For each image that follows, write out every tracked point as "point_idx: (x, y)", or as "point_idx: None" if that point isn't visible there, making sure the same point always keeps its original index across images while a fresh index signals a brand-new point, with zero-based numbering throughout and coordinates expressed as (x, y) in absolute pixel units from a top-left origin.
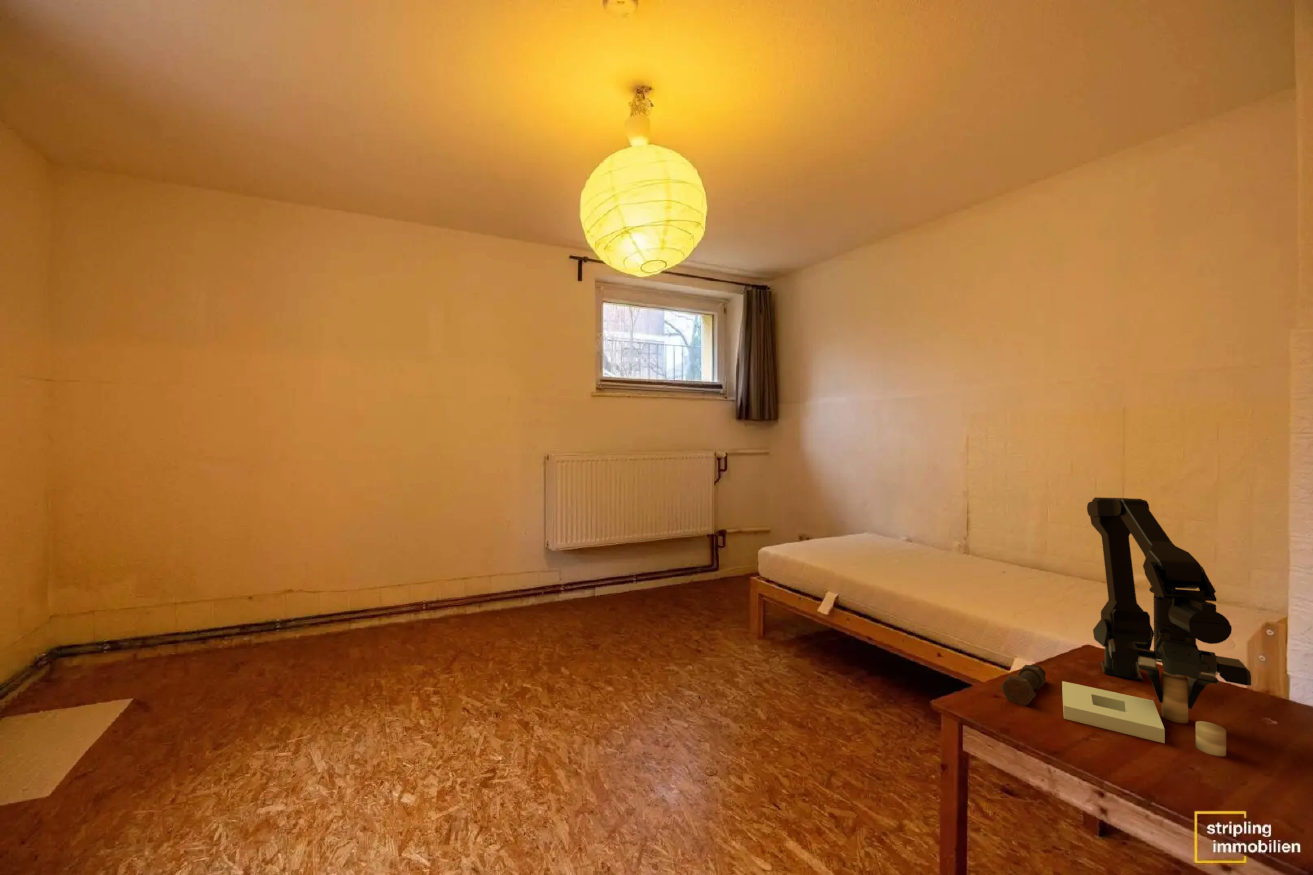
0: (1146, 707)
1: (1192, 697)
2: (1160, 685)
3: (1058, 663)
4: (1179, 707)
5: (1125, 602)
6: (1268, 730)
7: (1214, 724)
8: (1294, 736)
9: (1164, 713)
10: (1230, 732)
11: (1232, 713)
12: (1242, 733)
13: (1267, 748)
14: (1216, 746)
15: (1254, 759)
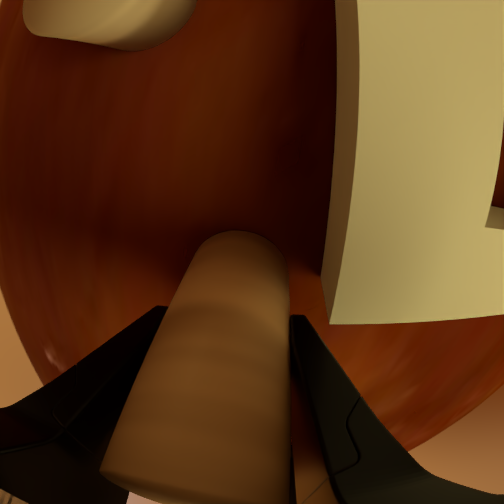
0: (406, 194)
1: (119, 350)
2: (315, 409)
3: (437, 430)
4: (208, 278)
5: None
6: (38, 313)
7: (45, 26)
8: (11, 304)
9: (282, 267)
10: (78, 249)
11: None
12: (58, 262)
13: (12, 186)
14: None
15: (37, 55)
